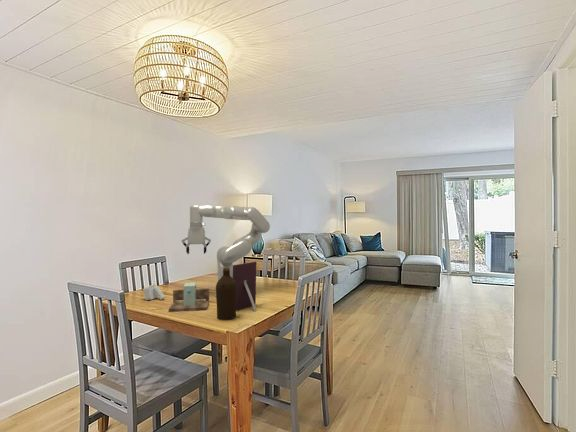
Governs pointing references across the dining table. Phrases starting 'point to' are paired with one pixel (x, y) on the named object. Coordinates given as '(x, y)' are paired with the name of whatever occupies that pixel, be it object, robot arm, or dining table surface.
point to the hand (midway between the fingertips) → (196, 253)
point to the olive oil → (226, 296)
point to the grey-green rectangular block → (189, 294)
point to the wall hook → (153, 292)
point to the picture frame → (245, 285)
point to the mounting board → (201, 304)
